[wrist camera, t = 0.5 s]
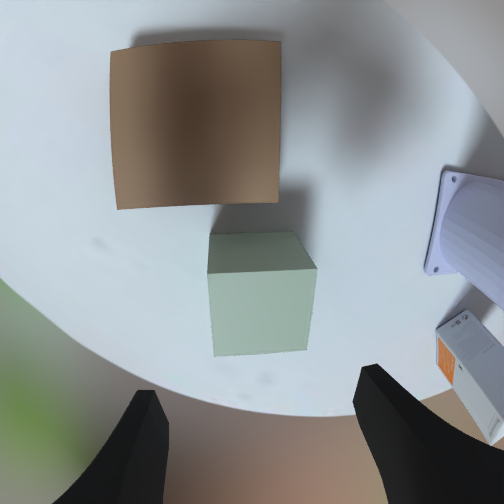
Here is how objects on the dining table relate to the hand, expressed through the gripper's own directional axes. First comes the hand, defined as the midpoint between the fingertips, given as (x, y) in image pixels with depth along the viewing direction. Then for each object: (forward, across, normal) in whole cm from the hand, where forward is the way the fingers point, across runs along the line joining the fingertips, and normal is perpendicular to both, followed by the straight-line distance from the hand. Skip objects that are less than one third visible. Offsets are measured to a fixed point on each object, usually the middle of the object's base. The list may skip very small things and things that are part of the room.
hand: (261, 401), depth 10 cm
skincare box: (+11, -20, +10) cm, 25 cm away
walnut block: (+11, +2, -9) cm, 14 cm away
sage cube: (+10, -1, 0) cm, 10 cm away
